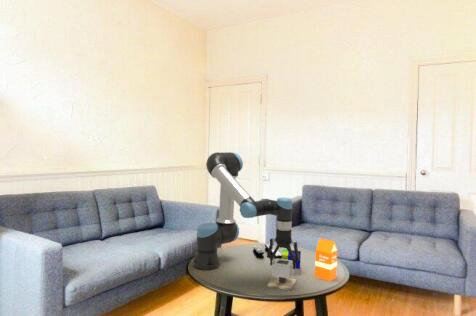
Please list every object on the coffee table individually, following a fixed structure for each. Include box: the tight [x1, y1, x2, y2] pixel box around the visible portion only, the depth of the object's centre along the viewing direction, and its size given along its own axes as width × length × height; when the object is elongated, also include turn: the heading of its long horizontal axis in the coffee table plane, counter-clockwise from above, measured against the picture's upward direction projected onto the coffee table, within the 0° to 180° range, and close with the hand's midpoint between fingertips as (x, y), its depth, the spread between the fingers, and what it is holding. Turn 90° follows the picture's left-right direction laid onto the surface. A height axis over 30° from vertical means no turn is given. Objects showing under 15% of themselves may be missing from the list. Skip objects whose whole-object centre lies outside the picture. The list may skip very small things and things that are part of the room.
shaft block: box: [267, 263, 297, 292], centre depth 168 cm, size 12×12×10 cm
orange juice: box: [314, 238, 338, 282], centre depth 179 cm, size 8×9×20 cm
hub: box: [271, 258, 292, 279], centre depth 168 cm, size 9×9×6 cm
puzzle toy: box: [281, 249, 302, 276], centre depth 187 cm, size 10×10×10 cm
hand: (282, 273), depth 168 cm, fingers closed on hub, 9 cm apart
